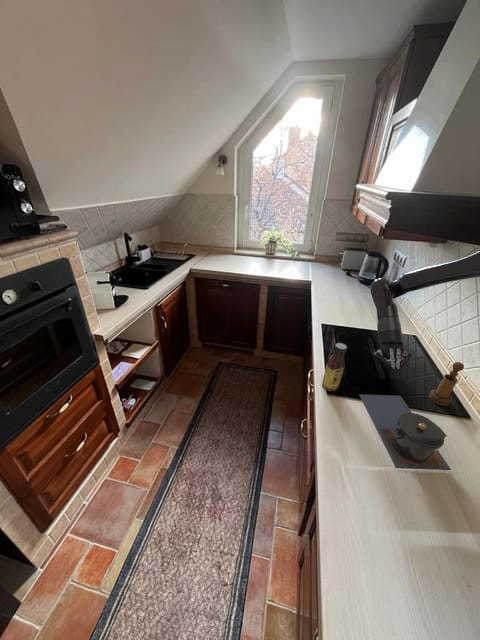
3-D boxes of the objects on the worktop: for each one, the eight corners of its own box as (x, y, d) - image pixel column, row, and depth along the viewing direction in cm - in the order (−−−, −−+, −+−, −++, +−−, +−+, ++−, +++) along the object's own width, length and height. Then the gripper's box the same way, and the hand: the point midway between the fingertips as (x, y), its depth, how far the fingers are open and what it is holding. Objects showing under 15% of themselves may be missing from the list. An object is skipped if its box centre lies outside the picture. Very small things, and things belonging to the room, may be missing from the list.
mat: (400, 396, 98) (400, 395, 97) (450, 470, 73) (451, 469, 73) (358, 395, 98) (358, 394, 98) (395, 468, 74) (395, 467, 73)
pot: (421, 429, 85) (433, 407, 79) (448, 464, 75) (464, 441, 69) (377, 430, 84) (387, 408, 79) (398, 466, 74) (411, 443, 68)
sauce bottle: (331, 395, 97) (343, 354, 88) (318, 385, 102) (328, 345, 92) (341, 387, 101) (353, 347, 91) (327, 378, 105) (338, 339, 95)
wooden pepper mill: (431, 390, 101) (451, 354, 92) (451, 400, 96) (474, 364, 87) (425, 398, 97) (446, 362, 88) (445, 409, 93) (469, 372, 84)
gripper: (376, 328, 89) (382, 378, 84) (414, 329, 89) (422, 380, 84) (366, 332, 96) (370, 379, 92) (401, 333, 96) (407, 380, 91)
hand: (395, 379), depth 88 cm, fingers closed
